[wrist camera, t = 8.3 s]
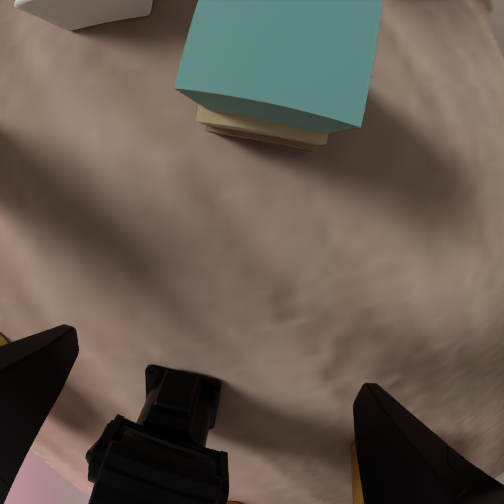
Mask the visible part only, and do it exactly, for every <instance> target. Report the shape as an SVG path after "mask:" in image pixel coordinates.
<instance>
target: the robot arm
mask: <svg viewBox="0 0 504 504" xmlns="http://www.w3.org/2000/svg"><path fill="white" fill-rule="evenodd" d="M78 353H79V346H78V338H77V331H76V329H75V328H74V327H72V326H69V325H65V324H63V325H60V326H57V327H54V328H52V329H49V330H46V331H43V332H40V333H37V334H34V335H31V336H28V337H26V338H23V339H20V340H17V341H14V342H11V343H8V344H5V345H2V346H0V504H4V502H5V500H6V497H7V495H8V493H9V491H10V488H11V486H12V484H13V482H14V479H15V477H16V475H17V473H18V471H19V469H20V467H21V465H22V463H23V461H24V459H25V456H26V454H27V453H28V451H29V449H30V447H31V445H32V443H33V441H34V439H35V438H36V436H37V434H38V432H39V430H40V428H41V426H42V425H43V423H44V421H45V419H46V417H47V416H48V414H49V412H50V410H51V408H52V407H53V405H54V403H55V402H56V400H57V398H58V396H59V394H60V393H61V391H62V389H63V387H64V384H65V382H66V380H67V378H68V375H69V373H70V371H71V369H72V367H73V365H74V362H75V360H76V358H77V356H78ZM151 370H152V371H151ZM145 377H146V402H145V404H144V406H143V409H142V411H141V413H140V416H139V418H138V420H137V423H135V422H133V421H130V420H128V419H126V418H124V416H121V415H119V414H117V416H116V417H115V419H114V420H111V422H110V423H108V424H107V426H106V428H105V430H104V432H103V434H102V435H101V437H100V439H99V440H98V441H97V442H96V443H95V444H94V445H93V446H92V447H91V448H90V449H89V450H88V451H87V453H86V457H85V458H86V460H87V462H88V464H89V467H88V471H89V472H88V481H90V482H92V483H94V487H93V490H92V494H91V497H90V500H89V504H227V500H228V495H229V473H228V453H227V452H224V451H216V450H213V449H209V448H206V447H205V446H206V441H207V436H208V430H209V429H213V428H214V425H215V419H216V413H217V408H218V402H219V396H220V391H221V385H222V383H221V381H220V380H218V379H213V378H208V377H203V376H198V375H194V374H189V373H184V372H180V371H175V370H171V369H167V368H163V367H159V366H155V365H148V366H147V368H146V370H145ZM214 384H216V385H214ZM353 415H354V432H355V448H356V455H357V461H358V467H359V474H360V480H361V487H362V494H363V501H364V504H504V485H503V484H501V483H500V482H498V481H496V480H495V479H494V478H492V477H491V476H489V475H488V474H486V473H485V472H483V471H482V470H480V469H479V468H477V467H476V466H475V465H473V464H472V463H470V462H469V461H468V460H466V459H465V458H464V457H462V456H461V455H460V454H459V453H457V452H456V451H455V450H454V449H453V448H452V447H450V446H448V445H447V443H446V442H444V441H443V440H442V439H441V438H440V437H438V436H437V435H436V434H435V433H434V432H433V431H431V430H430V429H429V428H428V427H427V426H426V425H424V424H423V423H422V422H421V421H420V420H418V419H417V418H416V417H415V416H414V415H413V414H411V413H410V412H409V411H408V410H407V409H406V408H405V407H403V406H402V405H401V404H400V403H399V402H398V401H396V400H395V399H394V398H393V397H392V396H391V395H389V394H388V393H387V392H386V391H385V390H384V389H383V388H381V387H380V386H379V385H378V384H376V383H364V384H363V385H362V387H361V389H360V391H359V393H358V395H357V397H356V399H355V401H354V404H353Z"/></svg>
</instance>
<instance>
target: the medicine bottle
mask: <svg viewBox="0 0 504 504" xmlns="http://www.w3.org/2000/svg"><path fill="white" fill-rule="evenodd" d="M152 3H153V0H15V5H14V6H15V7H16V8H17V9H20V10H22V11H24V12H27V13H29V14H32V15H34V16H36V17H39V18H41V19H43V20H45V21H48V22H50V23H52V24H54V25H56V26H58V27H61V28H63V29H65V30H67V31H72V30H76V29H80V28H84V27H89V26H93V25H97V24H102V23H107V22H112V21H118V20H124V19H130V18H136V17H144V16H148V15H149V14H150V12H151V8H152Z"/></svg>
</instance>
